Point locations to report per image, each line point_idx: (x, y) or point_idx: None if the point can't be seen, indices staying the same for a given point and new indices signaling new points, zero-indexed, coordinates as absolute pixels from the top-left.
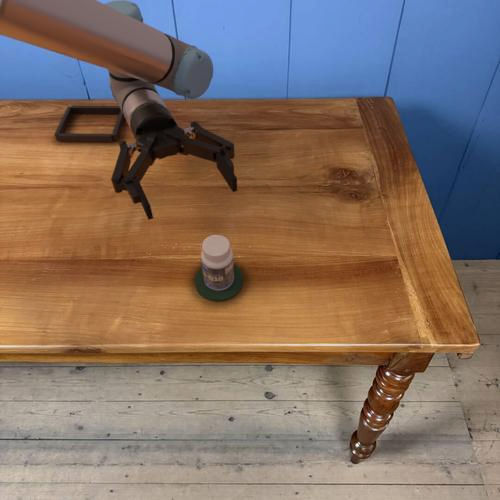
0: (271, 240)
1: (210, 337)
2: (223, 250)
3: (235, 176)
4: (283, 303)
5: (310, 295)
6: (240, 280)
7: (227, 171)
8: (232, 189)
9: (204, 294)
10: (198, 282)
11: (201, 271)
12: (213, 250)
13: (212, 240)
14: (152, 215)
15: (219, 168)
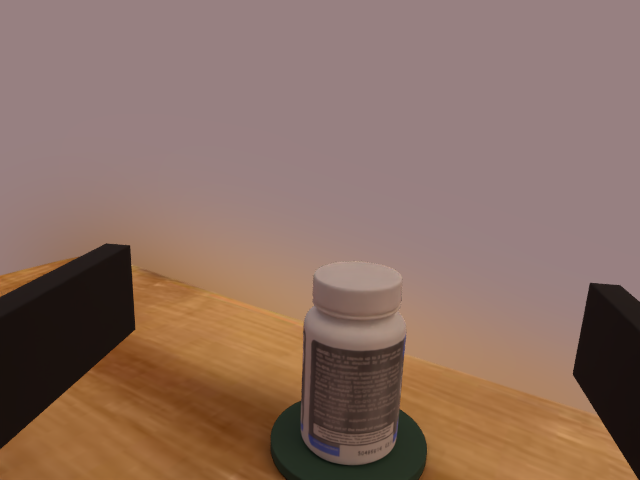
0: (90, 471)
1: (437, 371)
2: (347, 263)
3: (102, 245)
4: (249, 355)
5: (187, 344)
6: (296, 408)
7: (91, 266)
8: (133, 315)
9: (411, 423)
10: (413, 455)
11: (387, 477)
12: (374, 270)
13: (359, 282)
14: (577, 355)
15: (10, 409)
